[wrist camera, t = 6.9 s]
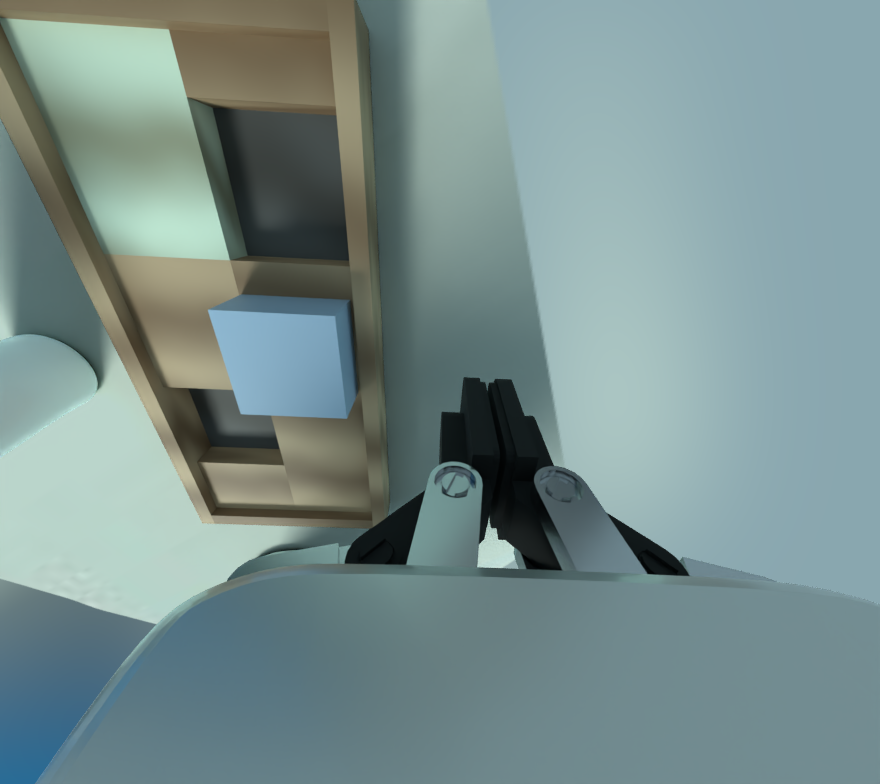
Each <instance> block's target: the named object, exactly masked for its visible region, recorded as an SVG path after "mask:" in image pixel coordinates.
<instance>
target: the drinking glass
mask: <svg viewBox="0 0 880 784" xmlns="http://www.w3.org/2000/svg"><path fill="white" fill-rule="evenodd" d="M97 387H98V382H97V377H96V374H95V372H94V370H93V369H92V367H91V366H90V364H89V363H88V362H87V361H86V360H85V358H83V357H82V356H81V355H80V354H79V353H78V352H77V351H75V350H74V349H72V348H71V347H69V346H68V345H66V344H64V343H62V342H60V341H58V340H55V339H53V338H50V337H46V336H42V335H35V334H24V335H17V336H13V337H9V338H6V339H3V340H0V458H1V457H2V456H4V455H5V454H7V453H8V452H10V451H11V450H13V449H14V448H16V447H17V446H19V445H20V444H22V443H23V442H25V441H26V440H28V439H29V438H31V437H32V436H33V435H35V434H36V433H38V432H39V431H41V430H42V429H44V428H45V427H47V426H48V425H50V424H51V423H53V422H54V421H56V420H58V419H59V418H61V417H62V416H64V415H65V414H67V413H69V412H70V411H72V410H74V409H76V408H77V407H79V406H81V405H83V404H84V403H86V402H88V401H89V400H90V399H91V398H92V397H93V396H94V395H95V393H96V391H97Z"/></svg>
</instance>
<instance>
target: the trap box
mask: <svg viewBox="0 0 880 784" xmlns="http://www.w3.org/2000/svg"><path fill="white" fill-rule="evenodd" d="M0 118H1V120H2V122H3V124H4V126H5V128H6V130H7V132H8V134H9V136H10V138H11V140H12V142H13V144H14V146H15V148H16V150H17V152H18V154H19V156H20V158H21V160H22V162H23V164H24V166H25V168H26V170H27V172H28V174H29V176H30V178H31V180H32V182H33V184H34V186H35V188H36V190H37V192H38V194H39V196H40V198H41V200H42V202H43V204H44V206H45V208H46V210H47V212H48V214H49V216H50V218H51V220H52V222H53V224H54V226H55V228H56V230H57V232H58V234H59V236H60V238H61V240H62V242H63V244H64V246H65V249H66V251H67V253H68V255H69V257H70V259H71V261H72V263H73V265H74V267H75V269H76V271H77V273H78V275H79V277H80V279H81V281H82V283H83V285H84V287H85V289H86V291H87V293H88V295H89V297H90V299H91V301H92V303H93V305H94V307H95V309H96V311H97V313H98V315H99V317H100V319H101V321H102V323H103V325H104V327H105V329H106V331H107V333H108V335H109V337H110V339H111V341H112V343H113V345H114V347H115V349H116V351H117V353H118V355H119V357H120V359H121V361H122V363H123V365H124V367H125V369H126V371H127V373H128V375H129V377H130V379H131V381H132V383H133V385H134V387H135V389H136V391H137V393H138V395H139V397H140V399H141V401H142V403H143V405H144V407H145V409H146V411H147V413H148V415H149V417H150V419H151V421H152V423H153V425H154V427H155V429H156V431H157V433H158V435H159V437H160V439H161V441H162V443H163V445H164V447H165V449H166V451H167V453H168V455H169V457H170V459H171V461H172V463H173V465H174V467H175V469H176V471H177V473H178V475H179V477H180V479H181V481H182V483H183V485H184V487H185V489H186V491H187V493H188V495H189V497H190V499H191V501H192V503H193V505H194V507H195V509H196V511H197V513H198V515H199V517H200V519H201V521H202V523H210V524H242V525H274V526H306V527H337V528H369V529H371V528H372V527H374V526H375V525H377V524H378V523H380V522H381V521H382V520H384V519H385V518H387V516H388V510H389V504H390V496H389V474H388V452H387V430H386V408H385V386H384V364H383V341H382V319H381V297H380V275H379V253H378V231H377V209H376V187H375V165H374V142H373V120H372V98H371V76H370V54H369V32H368V28H367V25H366V23H365V20H364V18H363V16H362V13H361V11H360V8H359V6H358V3H357V1H356V0H0ZM241 294H244V295H263V296H283V297H302V298H322V299H341V300H350V304H351V315H352V327H353V338H354V349H355V360H356V371H357V382H358V394H357V397H356V399H355V401H354V403H353V406H352V408H351V410H350V413H349V415H348V417H347V419H342V418H318V417H294V416H271V415H247V414H241V413H240V410H239V407H238V404H237V401H236V397H235V394H234V391H233V388H232V385H231V382H230V379H229V375H228V372H227V369H226V366H225V363H224V360H223V357H222V353H221V350H220V347H219V344H218V341H217V338H216V335H215V331H214V328H213V325H212V322H211V319H210V316H209V313H208V309H210V308H213V307H215V306H217V305H219V304H221V303H224V302H226V301H228V300H230V299H232V298H235V297H237V296H239V295H241Z"/></svg>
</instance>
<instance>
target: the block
mask: <svg viewBox="0 0 880 784" xmlns="http://www.w3.org/2000/svg"><path fill="white" fill-rule="evenodd" d="M208 313H209V316H210V319H211V322H212V325H213V328H214V331H215V335H216V338H217V341H218V344H219V347H220V350H221V353H222V357H223V360H224V363H225V366H226V369H227V372H228V375H229V379H230V382H231V385H232V388H233V391H234V394H235V397H236V401H237V404H238V407H239V410H240V413H241V414H247V415H271V416H294V417H318V418H342V419H347V417H348V415H349V413H350V410H351V408H352V406H353V403H354V401H355V399H356V397H357V394H358V382H357V371H356V360H355V349H354V338H353V327H352V315H351V304H350V300H341V299H322V298H302V297H283V296H263V295H244V294H241V295H239V296H237V297H235V298H232V299H230V300H228V301H226V302H224V303H221V304H219V305H217V306H215V307H213V308H210V309H208Z"/></svg>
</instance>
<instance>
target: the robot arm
mask: <svg viewBox="0 0 880 784" xmlns="http://www.w3.org/2000/svg"><path fill="white" fill-rule="evenodd" d="M489 518H490V525H491V528H497V534H498V540H506V541H507V542H509V543H510V544H511V545H512V546H513V547H514V555H515V560H516V562H517V565H518V568H519V569H506V568H479V567H477V563H478V548H479V544H480V543H481V542H482V541H483V540H484V537H485V532H486V528H487V524H488V519H489ZM35 784H880V605H879V604H876V603H874V602H871V601H868V600H865V599H861V598H857V597H853V596H850V595H845V594H842V593H838V592H834V591H831V590H826V589H820V588H813V587H808V586H803V585H797V584H789V583H780V582H776V581H773V580H771V579H768V578H766V577H762V576H758V575H754V574H750V573H746V572H742V571H737V570H734V569H730V568H725V567H721V566H717V565H713V564H709V563H705V562H701V561H696V560H693V559H689V558H684V557H682V558H681V560H680V561H678V560H677V558H676V557H674V556H673V555H672V554H671V553H669V552H668V551H667V550H665V549H664V548H662V547H660V546H659V545H657V544H656V543H654V542H653V541H651V540H649V539H648V538H646V537H645V536H643V535H641V534H640V533H638V532H636V531H635V530H633V529H632V528H630V527H629V526H627V525H625V524H624V523H622V522H621V521H619V520H617V519H616V518H614V517H613V516H611V515H609V514H607V513H606V512H605V510H604V509H603V508H602V506H601V504H600V503H599V501H598V500H597V498H596V497H595V496H594V494H593V493H592V491H591V490H590V488H589V487H588V485H587V484H586V483H585V481H584V480H583V479H582V478H581V477H580V476H578V475H577V474H576V473H574V472H572V471H570V470H568V469H566V468H562V467H558V466H554V465H553V463H552V460H551V458H550V455H549V453H548V450H547V448H546V445H545V443H544V440H543V438H542V435H541V433H540V430H539V428H538V425H537V423H536V420H535V418H534V417H533V416H524V413H523V411H522V408H521V405H520V402H519V399H518V397H517V394H516V391H515V388H514V385H513V383H512V380H508V379H495V381H494V383H489V385H488V392H487V388H486V384H485V382H480V379H479V378H466V377H464V380H463V389H462V399H461V409H460V413H454V412H442V415H441V430H440V456H439V465H438V466H436V467H435V468H434V469H433V470H432V471H431V474H430V476H429V478H428V482H427V486H426V490H425V491H423V492H422V493H421V494H419V495H418V496H416V497H415V498H414V499H412V500H411V501H409V502H408V503H406V504H405V505H404V506H402V507H401V508H399V509H398V510H397V511H395V512H394V513H392V514H391V515H389V516H388V517H387V518H385V519H384V520H382V521H381V522H380V523H378V524H377V525H375V526H374V527H372V528H371V529H370V530H368V531H367V532H365V533H364V534H363V535H361V536H360V537H359V538H358V539H356V540H355V541H354V542H353V543H352V545H348V546H342V547H339V544H338V543H335V544H330V545H324V546H318V547H312V548H307V549H301V550H287V551H279V552H274V553H271V554H268V555H265V556H261V557H258V558H255V559H252V560H249V561H247V562H246V563H244V564H243V565H241V566H240V567H238V568H237V569H236V570H235V571H234V572H233V573H232V574H231V576H230V577H229V578H228V580H227V582H224V583H222V584H219V585H217V586H214V587H212V588H210V589H207V590H205V591H203V592H201V593H199V594H197V595H195V596H193V597H192V598H190V599H188V600H187V601H185V602H184V603H182V604H181V605H179V606H178V607H176V608H175V609H174V610H172V611H171V612H170V613H169V614H168V615H167V616H165V617H164V618H163V619H162V620H161V621H160V622H159V623H158V624H157V625H156V626H155V627H154V628H153V629H152V630H151V631H150V632H149V633H148V634H147V635H146V637H145V638H144V639H143V640H142V641H141V642H140V643H139V644H138V645H137V647H136V648H135V649H134V650H133V652H132V653H131V654H130V655H129V656H128V658H127V659H126V660H125V661H124V662H123V664H122V665H121V666H120V668H119V669H118V670H117V671H116V673H115V674H114V675H113V677H112V678H111V679H110V681H109V682H108V683H107V685H106V686H105V687H104V688H103V690H102V691H101V693H100V694H99V695H98V697H97V698H96V699H95V701H94V702H93V704H92V705H91V706H90V707H89V709H88V710H87V712H86V713H85V714H84V716H83V717H82V718H81V720H80V721H79V722H78V724H77V725H76V727H75V728H74V729H73V731H72V732H71V734H70V735H69V736H68V738H67V740H66V741H65V742H64V744H63V745H62V746H61V748H60V749H59V751H58V752H57V754H56V755H55V756H54V758H53V760H52V761H51V762H50V764H49V765H48V767H47V768H46V769H45V771H44V772H43V774H42V775H41V776H40V778H39V779H38V781H37V782H36V783H35Z"/></svg>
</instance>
